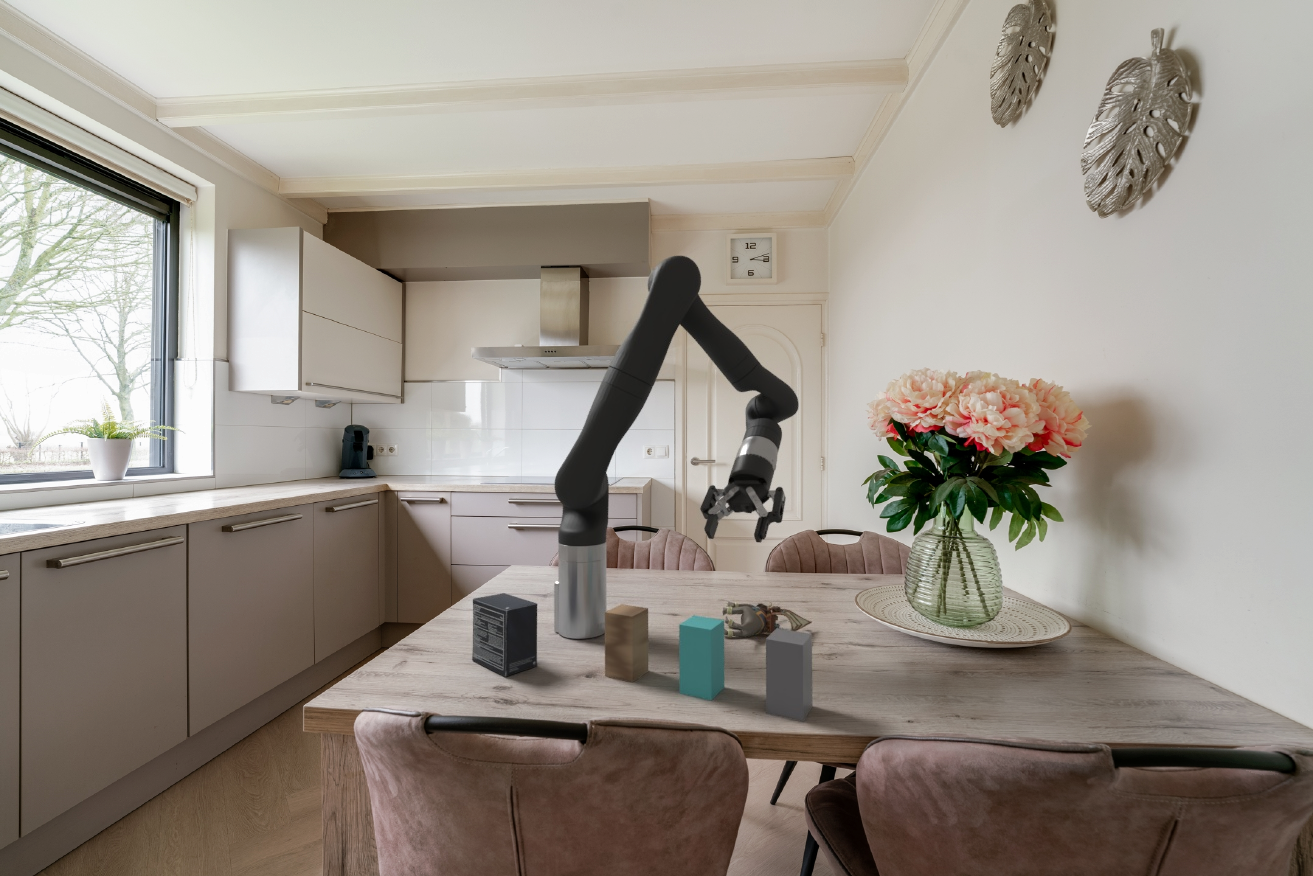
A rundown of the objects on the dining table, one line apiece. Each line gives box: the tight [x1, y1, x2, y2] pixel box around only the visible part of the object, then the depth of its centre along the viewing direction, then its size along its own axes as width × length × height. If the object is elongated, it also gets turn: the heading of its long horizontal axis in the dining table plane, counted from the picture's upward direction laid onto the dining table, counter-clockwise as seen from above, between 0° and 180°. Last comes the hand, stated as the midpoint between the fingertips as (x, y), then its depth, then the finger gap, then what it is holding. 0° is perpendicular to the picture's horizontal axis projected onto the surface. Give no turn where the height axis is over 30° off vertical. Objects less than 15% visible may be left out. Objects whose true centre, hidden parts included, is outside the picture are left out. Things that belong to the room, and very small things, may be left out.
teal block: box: [678, 614, 725, 701], centre depth 84 cm, size 5×5×10 cm
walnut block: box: [604, 603, 649, 683], centre depth 90 cm, size 5×5×10 cm
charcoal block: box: [765, 628, 813, 723], centre depth 78 cm, size 5×5×10 cm
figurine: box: [721, 600, 813, 639], centre depth 110 cm, size 20×6×17 cm
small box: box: [471, 592, 538, 678], centre depth 95 cm, size 11×6×10 cm, turn 47°
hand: (732, 537), depth 95 cm, fingers open, 8 cm apart
